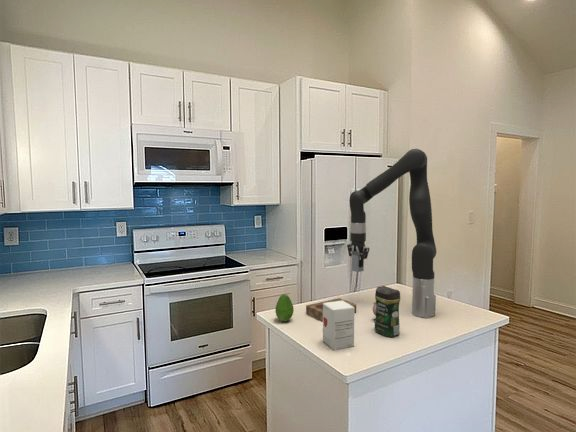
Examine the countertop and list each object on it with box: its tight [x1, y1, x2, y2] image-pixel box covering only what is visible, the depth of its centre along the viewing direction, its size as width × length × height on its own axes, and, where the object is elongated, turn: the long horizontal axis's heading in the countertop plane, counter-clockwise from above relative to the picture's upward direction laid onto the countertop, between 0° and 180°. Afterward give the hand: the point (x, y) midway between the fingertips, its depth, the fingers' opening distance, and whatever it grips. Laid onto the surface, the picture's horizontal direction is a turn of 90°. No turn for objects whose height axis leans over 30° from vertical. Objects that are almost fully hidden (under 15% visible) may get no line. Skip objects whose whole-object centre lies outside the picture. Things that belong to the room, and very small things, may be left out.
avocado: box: [274, 293, 295, 322], centre depth 164 cm, size 8×8×12 cm
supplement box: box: [322, 299, 355, 351], centre depth 140 cm, size 9×9×15 cm
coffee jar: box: [374, 285, 401, 338], centre depth 150 cm, size 10×8×19 cm
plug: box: [351, 250, 365, 273], centre depth 185 cm, size 4×4×10 cm
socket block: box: [305, 298, 357, 323], centre depth 173 cm, size 12×20×4 cm, turn 123°
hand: (357, 266), depth 185 cm, fingers closed on plug, 4 cm apart
